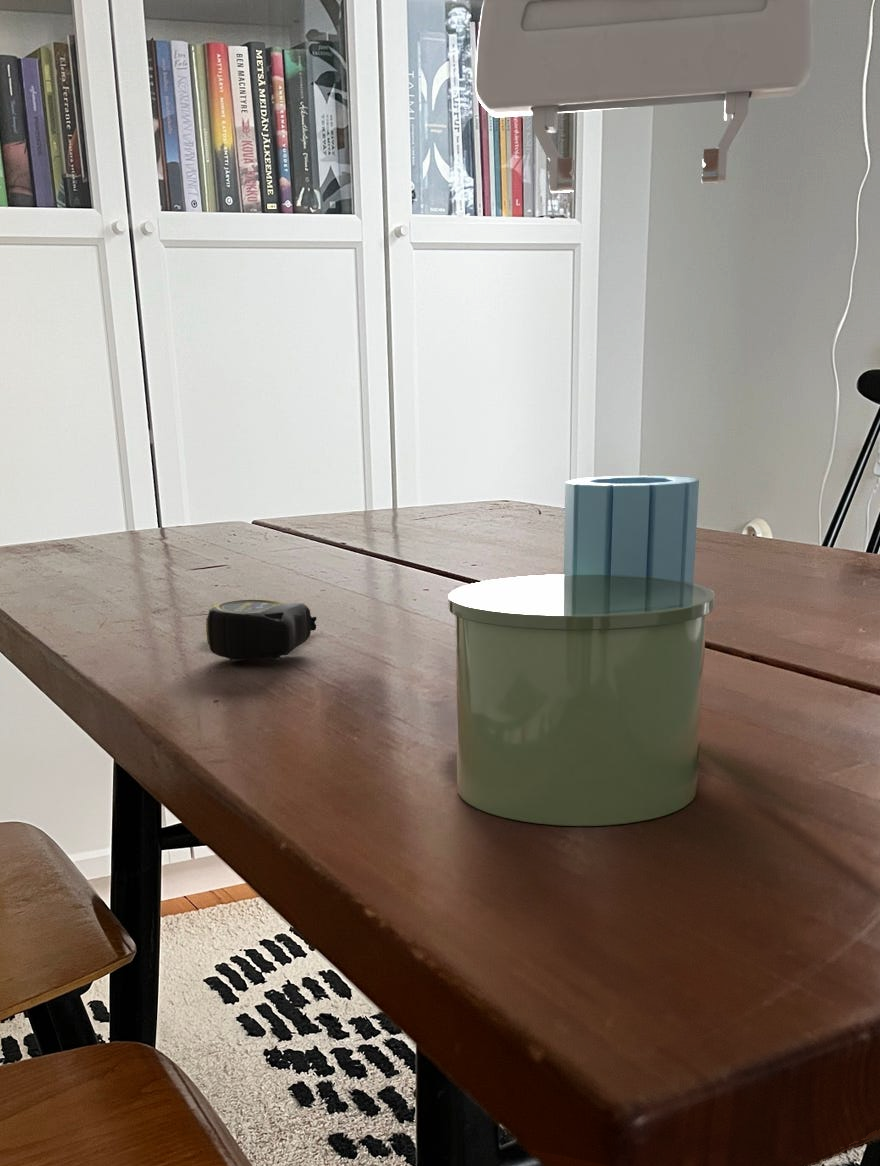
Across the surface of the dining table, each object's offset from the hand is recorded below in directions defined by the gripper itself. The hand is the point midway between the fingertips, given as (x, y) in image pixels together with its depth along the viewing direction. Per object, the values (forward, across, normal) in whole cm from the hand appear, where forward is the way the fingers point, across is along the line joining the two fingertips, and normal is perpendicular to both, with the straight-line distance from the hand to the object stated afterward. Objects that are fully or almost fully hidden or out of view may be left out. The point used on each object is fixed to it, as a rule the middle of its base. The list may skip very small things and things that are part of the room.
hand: (636, 187), depth 80 cm
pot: (+29, 0, +30) cm, 42 cm away
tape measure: (+29, +24, +7) cm, 39 cm away
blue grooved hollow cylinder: (+24, -1, +24) cm, 34 cm away
